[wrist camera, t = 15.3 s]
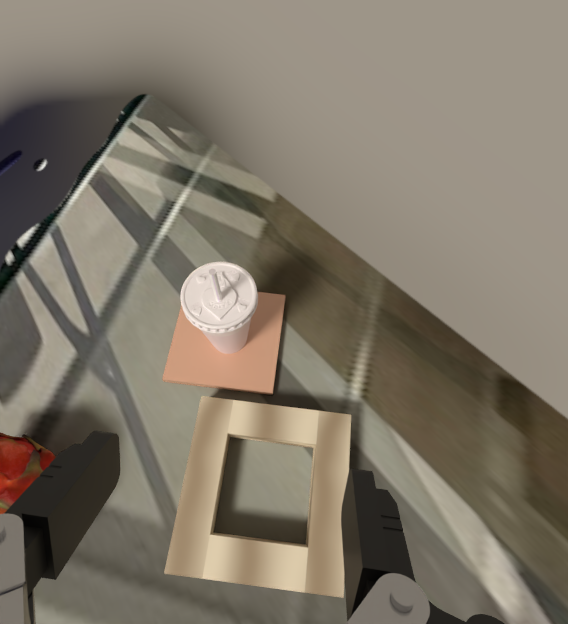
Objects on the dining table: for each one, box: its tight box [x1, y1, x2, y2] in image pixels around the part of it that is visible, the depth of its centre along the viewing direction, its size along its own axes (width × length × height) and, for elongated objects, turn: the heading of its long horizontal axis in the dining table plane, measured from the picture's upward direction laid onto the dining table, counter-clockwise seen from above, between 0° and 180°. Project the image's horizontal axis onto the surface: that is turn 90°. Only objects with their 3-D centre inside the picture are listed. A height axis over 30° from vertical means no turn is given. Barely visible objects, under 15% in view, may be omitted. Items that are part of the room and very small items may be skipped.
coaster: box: [162, 292, 286, 395], centre depth 42 cm, size 11×11×1 cm
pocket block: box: [164, 396, 351, 598], centre depth 35 cm, size 14×14×2 cm
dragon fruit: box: [0, 433, 56, 514], centre depth 32 cm, size 8×8×12 cm
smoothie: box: [181, 262, 258, 354], centre depth 35 cm, size 6×6×14 cm
